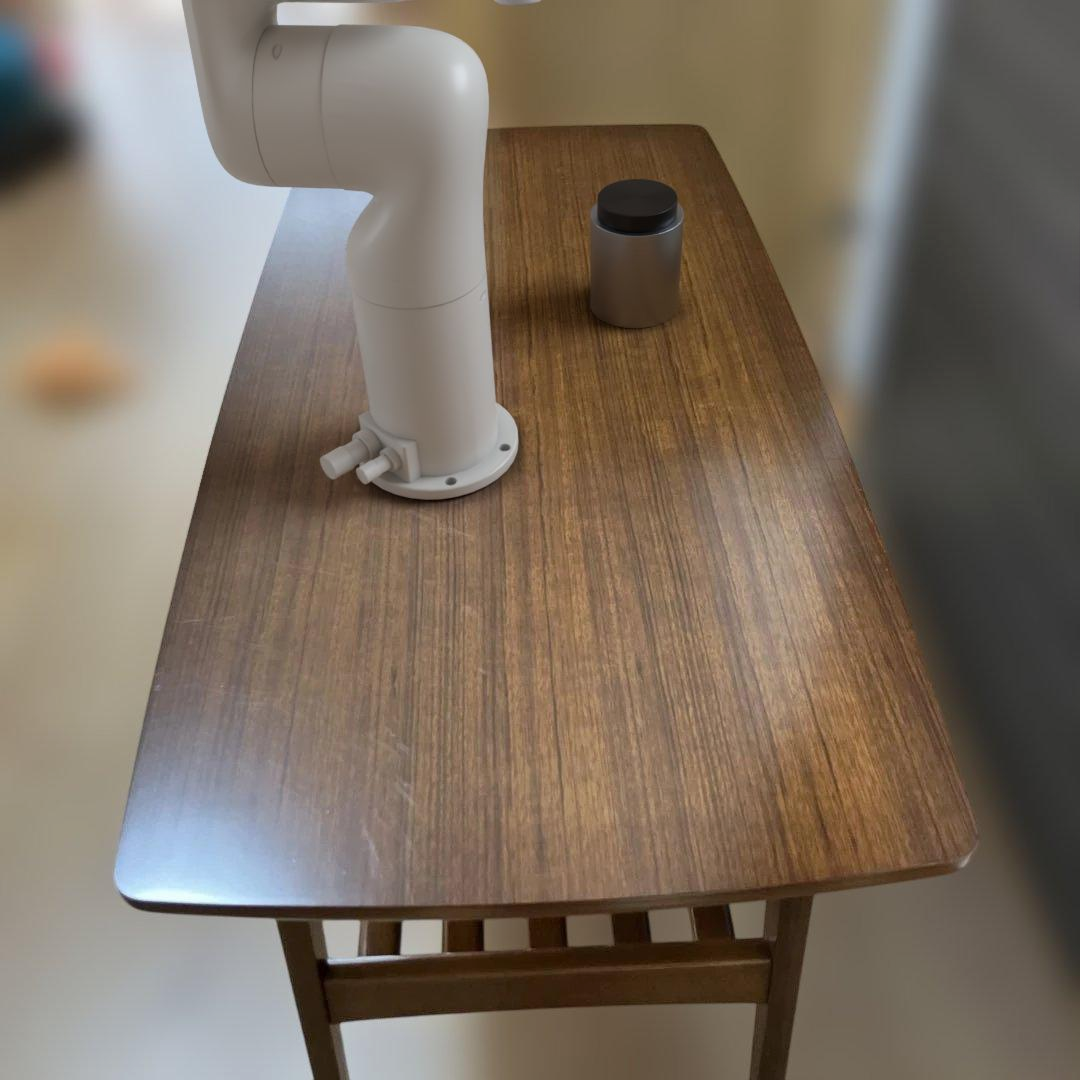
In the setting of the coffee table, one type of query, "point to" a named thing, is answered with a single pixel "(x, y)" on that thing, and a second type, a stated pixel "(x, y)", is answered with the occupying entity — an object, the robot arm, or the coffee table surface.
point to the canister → (635, 253)
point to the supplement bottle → (517, 2)
